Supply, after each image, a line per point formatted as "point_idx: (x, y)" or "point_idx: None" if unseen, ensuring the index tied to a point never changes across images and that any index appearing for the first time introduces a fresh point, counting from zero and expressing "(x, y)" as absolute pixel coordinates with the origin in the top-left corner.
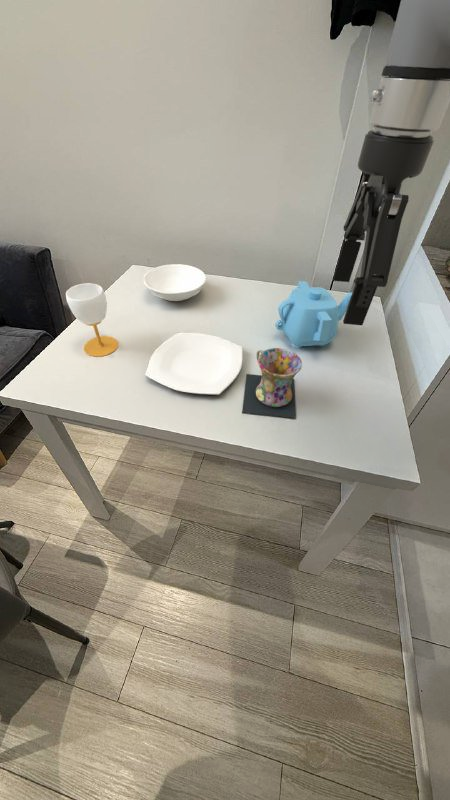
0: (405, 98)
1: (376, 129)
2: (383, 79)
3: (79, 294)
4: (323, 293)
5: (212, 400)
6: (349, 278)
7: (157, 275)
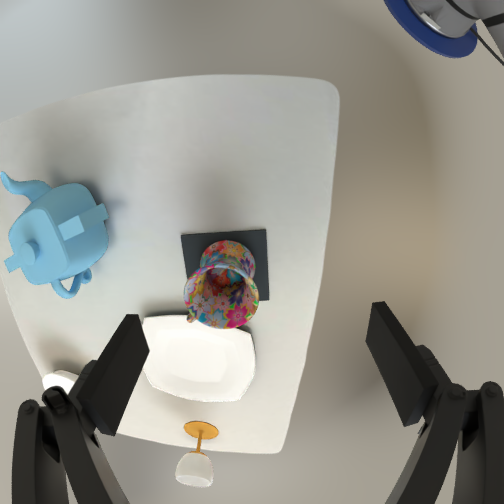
0: None
1: None
2: None
3: (186, 476)
4: (19, 233)
5: (253, 333)
6: (134, 322)
7: None
